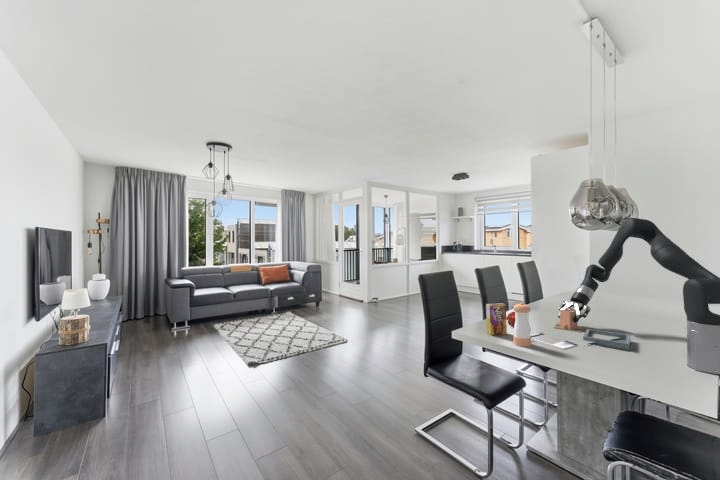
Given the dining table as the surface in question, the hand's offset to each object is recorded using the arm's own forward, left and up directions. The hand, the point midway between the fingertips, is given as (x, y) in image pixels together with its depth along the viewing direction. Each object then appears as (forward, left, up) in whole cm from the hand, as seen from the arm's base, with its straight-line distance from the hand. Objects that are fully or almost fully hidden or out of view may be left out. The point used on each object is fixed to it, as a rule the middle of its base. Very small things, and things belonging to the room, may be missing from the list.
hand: (566, 319), depth 159 cm
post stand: (+1, -1, -6) cm, 6 cm away
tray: (-9, -17, -6) cm, 20 cm away
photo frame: (-22, +2, -6) cm, 23 cm away
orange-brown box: (+1, -1, -4) cm, 5 cm away
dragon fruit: (-8, +22, -6) cm, 24 cm away
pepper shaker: (-36, +12, -6) cm, 38 cm away
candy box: (-28, +26, -6) cm, 39 cm away
